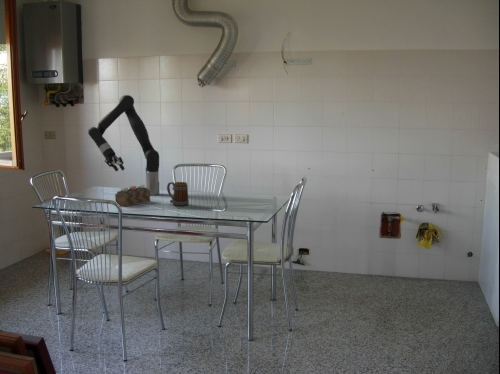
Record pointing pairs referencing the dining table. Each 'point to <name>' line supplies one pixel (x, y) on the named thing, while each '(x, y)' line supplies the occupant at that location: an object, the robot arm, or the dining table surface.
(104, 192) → the dining table surface
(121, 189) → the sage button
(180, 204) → the mug
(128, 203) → the wooden egg crate
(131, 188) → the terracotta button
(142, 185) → the cream egg
